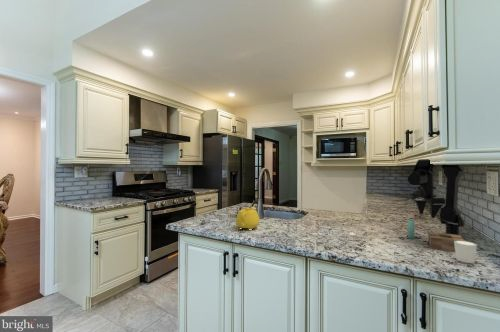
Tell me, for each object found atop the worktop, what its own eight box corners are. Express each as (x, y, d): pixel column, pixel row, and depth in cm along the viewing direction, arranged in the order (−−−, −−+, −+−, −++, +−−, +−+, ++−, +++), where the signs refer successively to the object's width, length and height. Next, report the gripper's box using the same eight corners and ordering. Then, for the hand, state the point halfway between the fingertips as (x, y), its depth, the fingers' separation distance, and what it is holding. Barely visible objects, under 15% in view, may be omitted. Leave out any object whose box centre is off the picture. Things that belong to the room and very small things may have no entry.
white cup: (469, 264, 92) (468, 246, 92) (449, 258, 98) (449, 241, 98) (481, 262, 94) (481, 244, 94) (461, 256, 100) (461, 239, 100)
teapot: (231, 230, 143) (231, 209, 143) (244, 223, 161) (244, 204, 161) (253, 233, 138) (253, 210, 138) (264, 225, 156) (264, 205, 156)
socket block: (428, 241, 120) (428, 231, 120) (459, 245, 114) (459, 235, 114) (431, 248, 110) (431, 237, 110) (465, 253, 103) (465, 241, 103)
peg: (407, 236, 128) (407, 220, 128) (414, 237, 127) (414, 220, 127) (407, 238, 126) (407, 221, 126) (414, 239, 124) (414, 221, 124)
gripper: (399, 183, 129) (399, 212, 129) (420, 185, 111) (420, 219, 111) (421, 183, 128) (422, 212, 128) (446, 185, 109) (446, 220, 109)
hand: (426, 215), depth 119 cm, fingers open, 9 cm apart
